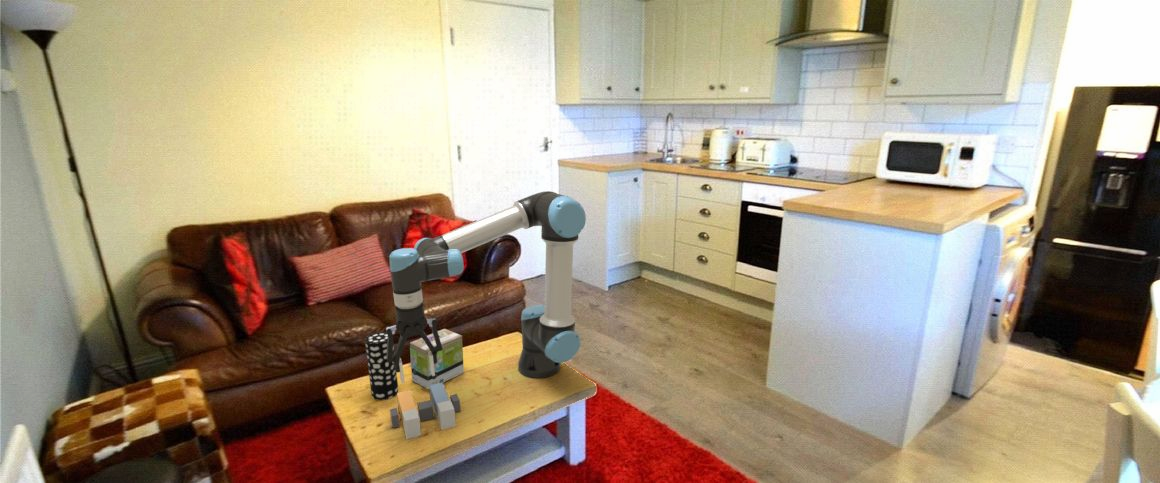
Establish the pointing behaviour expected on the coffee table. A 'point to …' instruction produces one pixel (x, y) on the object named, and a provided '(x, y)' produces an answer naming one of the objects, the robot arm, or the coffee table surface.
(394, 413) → the grey blocks
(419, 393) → the coffee table surface
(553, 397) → the coffee table surface
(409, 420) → the white-capped orange post
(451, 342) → the tea box
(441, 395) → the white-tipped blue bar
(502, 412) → the coffee table surface
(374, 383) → the spotted tube
